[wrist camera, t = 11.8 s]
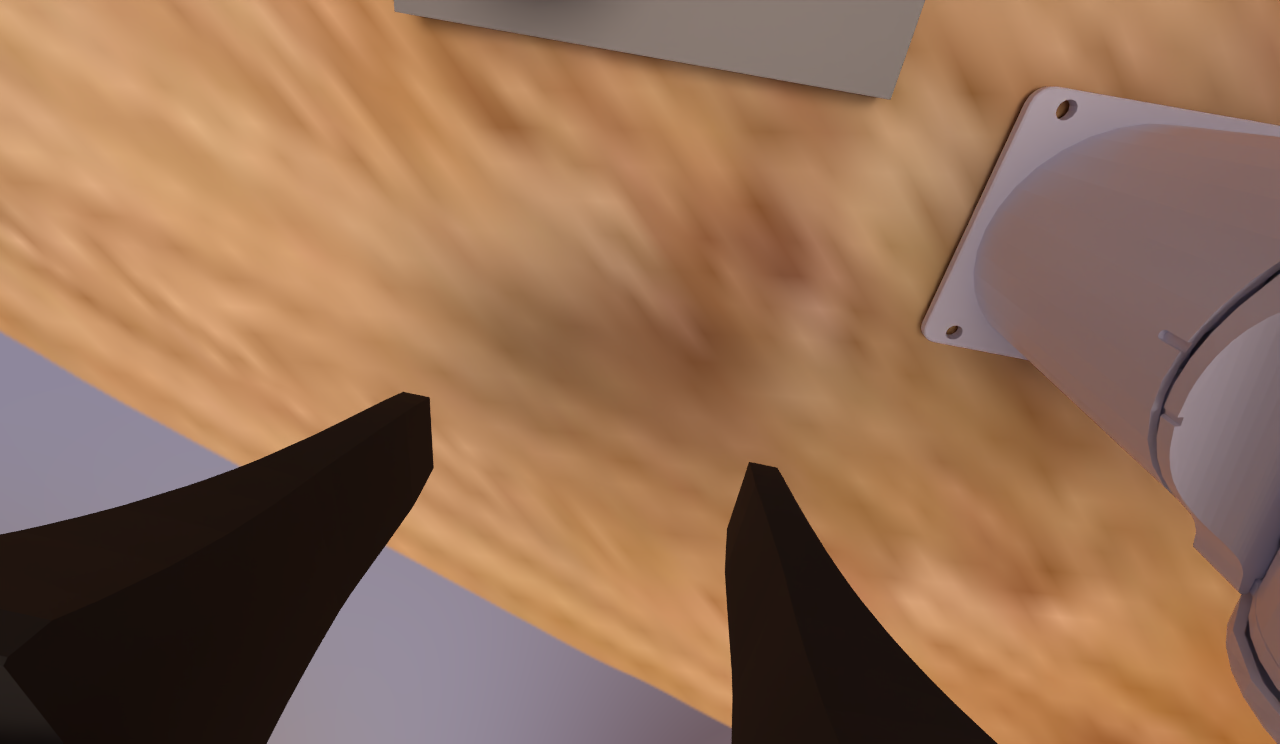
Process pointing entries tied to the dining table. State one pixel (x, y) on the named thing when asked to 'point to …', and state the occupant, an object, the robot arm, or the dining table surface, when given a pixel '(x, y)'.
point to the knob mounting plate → (719, 33)
